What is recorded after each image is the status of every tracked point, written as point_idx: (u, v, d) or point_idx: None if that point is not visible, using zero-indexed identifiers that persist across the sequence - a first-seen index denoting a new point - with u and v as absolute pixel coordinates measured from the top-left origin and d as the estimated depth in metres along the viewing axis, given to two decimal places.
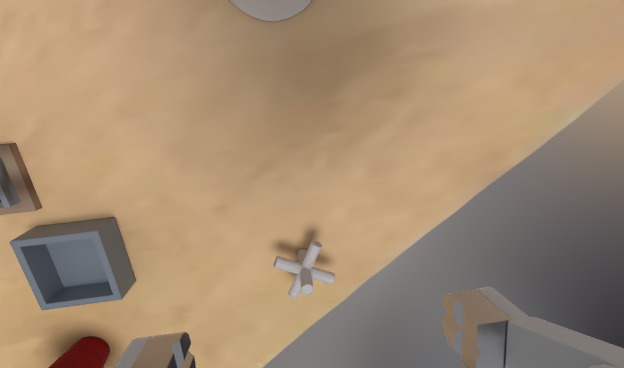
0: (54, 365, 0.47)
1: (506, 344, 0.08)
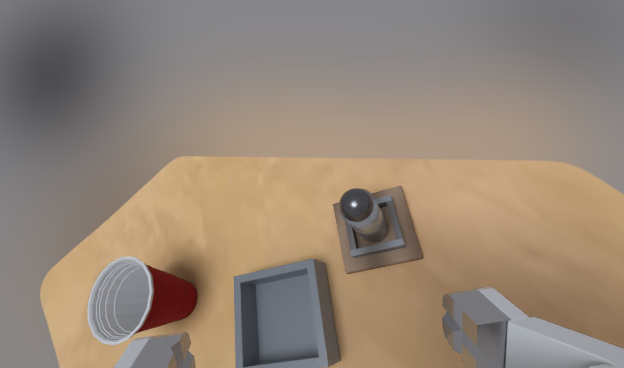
0: (171, 287, 0.42)
1: (506, 345, 0.08)
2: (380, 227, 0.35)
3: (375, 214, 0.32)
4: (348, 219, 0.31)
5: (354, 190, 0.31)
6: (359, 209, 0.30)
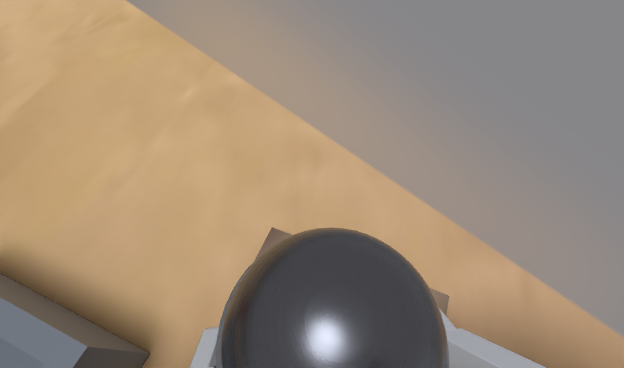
0: None
1: None
2: None
3: None
4: None
5: (386, 256, 0.04)
6: None
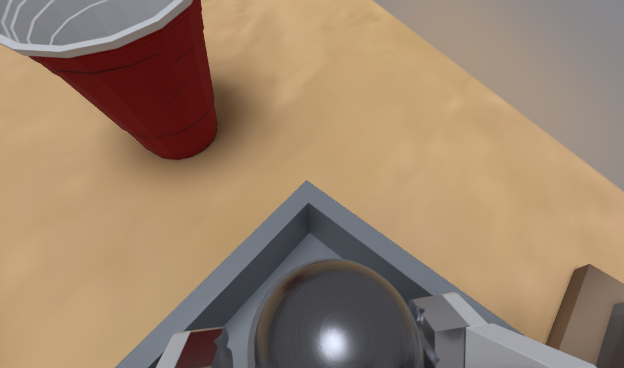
0: (192, 81, 0.18)
1: (465, 351, 0.08)
2: None
3: None
4: None
5: (377, 286, 0.06)
6: None
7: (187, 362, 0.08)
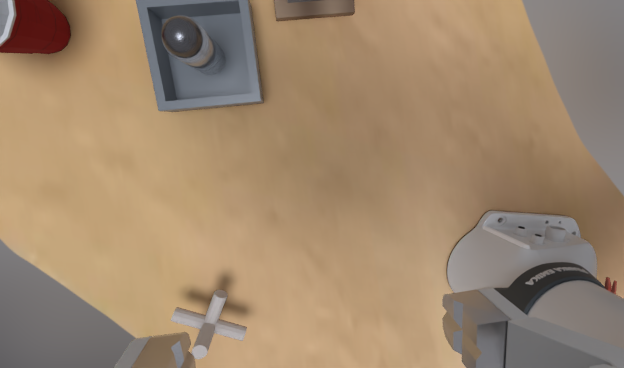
0: None
1: (506, 344, 0.08)
2: (216, 58, 0.34)
3: (207, 45, 0.29)
4: (178, 56, 0.28)
5: (175, 19, 0.26)
6: (187, 43, 0.27)
7: None
